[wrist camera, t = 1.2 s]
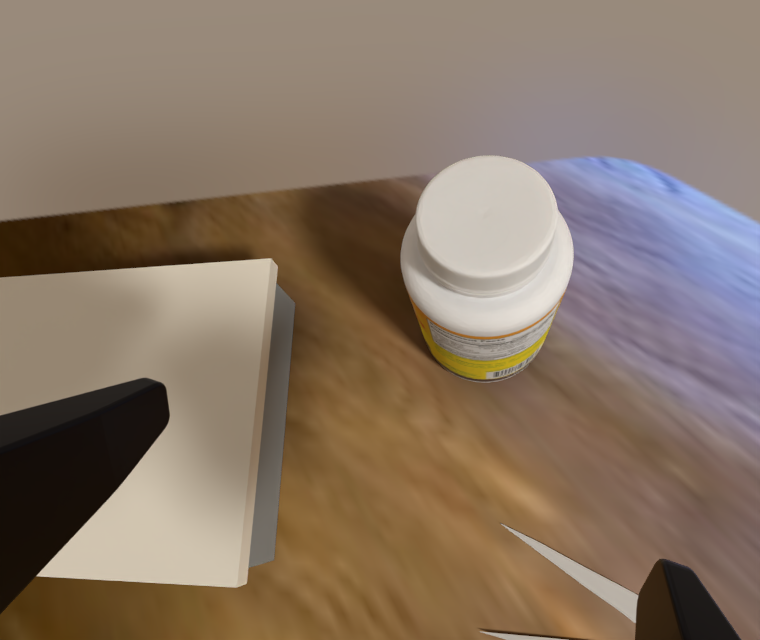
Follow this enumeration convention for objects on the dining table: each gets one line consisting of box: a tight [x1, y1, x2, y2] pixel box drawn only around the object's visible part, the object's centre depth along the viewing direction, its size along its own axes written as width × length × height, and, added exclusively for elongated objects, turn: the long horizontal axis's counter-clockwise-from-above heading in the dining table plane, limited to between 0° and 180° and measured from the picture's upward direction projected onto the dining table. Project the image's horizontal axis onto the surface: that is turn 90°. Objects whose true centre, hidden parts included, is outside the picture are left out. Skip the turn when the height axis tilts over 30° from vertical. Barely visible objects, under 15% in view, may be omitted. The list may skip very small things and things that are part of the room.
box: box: [0, 258, 295, 588], centre depth 23 cm, size 13×19×4 cm
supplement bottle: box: [401, 155, 574, 382], centre depth 18 cm, size 6×6×10 cm
